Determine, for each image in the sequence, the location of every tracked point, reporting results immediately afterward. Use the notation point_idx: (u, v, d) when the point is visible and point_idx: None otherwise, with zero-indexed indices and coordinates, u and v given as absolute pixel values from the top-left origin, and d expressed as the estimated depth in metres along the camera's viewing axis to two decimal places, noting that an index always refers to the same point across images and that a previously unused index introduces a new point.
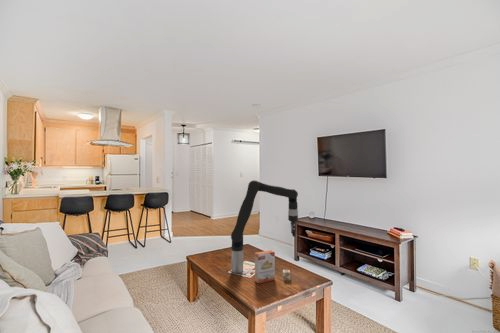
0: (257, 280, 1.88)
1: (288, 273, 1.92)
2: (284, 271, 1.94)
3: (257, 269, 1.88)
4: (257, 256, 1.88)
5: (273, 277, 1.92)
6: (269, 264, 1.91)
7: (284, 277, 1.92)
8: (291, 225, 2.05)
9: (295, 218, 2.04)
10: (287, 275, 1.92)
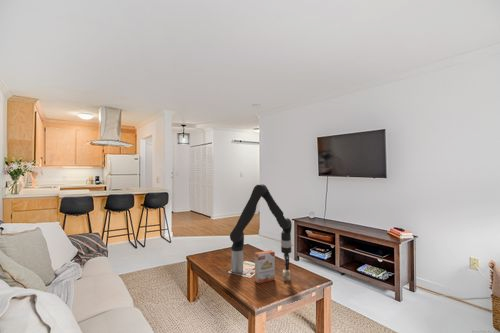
0: (257, 280, 1.88)
1: (288, 273, 1.92)
2: (284, 271, 1.94)
3: (257, 269, 1.88)
4: (257, 256, 1.88)
5: (273, 277, 1.92)
6: (269, 264, 1.91)
7: (284, 277, 1.92)
8: (284, 257, 1.92)
9: (288, 250, 1.91)
10: (287, 275, 1.92)
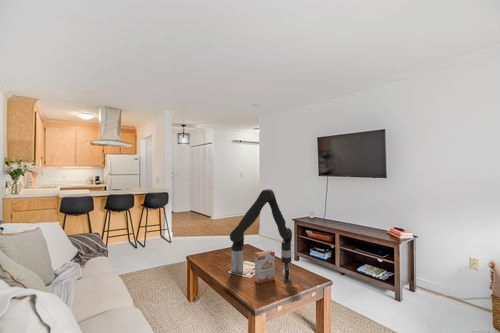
0: (257, 280, 1.88)
1: None
2: (284, 271, 1.94)
3: (257, 269, 1.88)
4: (257, 256, 1.88)
5: (273, 277, 1.92)
6: (269, 264, 1.91)
7: (284, 277, 1.92)
8: (284, 268, 1.92)
9: (288, 260, 1.91)
10: None
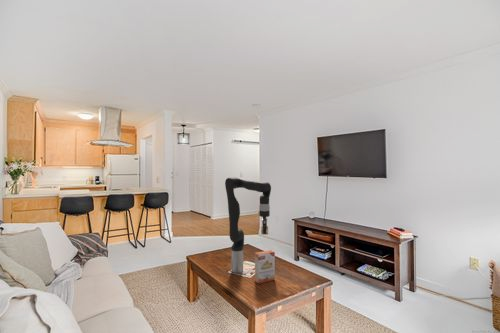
0: (257, 280, 1.88)
1: (266, 227, 1.90)
2: (262, 225, 1.92)
3: (257, 269, 1.88)
4: (257, 256, 1.88)
5: (273, 277, 1.92)
6: (269, 264, 1.91)
7: (262, 231, 1.90)
8: (262, 221, 1.90)
9: (266, 213, 1.89)
10: None
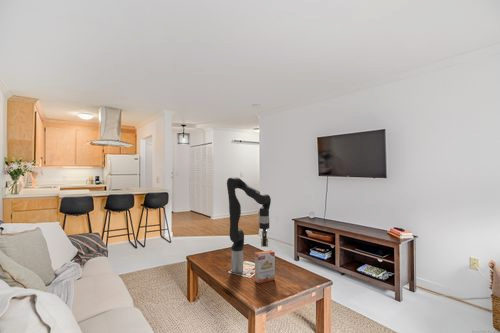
0: (257, 280, 1.88)
1: (266, 239, 1.90)
2: None
3: (257, 269, 1.88)
4: (257, 256, 1.88)
5: (273, 277, 1.92)
6: (269, 264, 1.91)
7: (262, 243, 1.90)
8: (262, 234, 1.90)
9: (266, 226, 1.89)
10: None
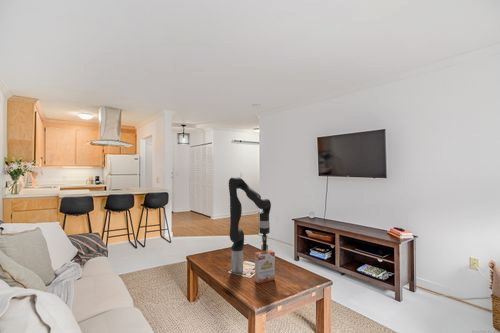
0: (257, 280, 1.88)
1: (266, 246, 1.89)
2: (262, 244, 1.91)
3: (257, 269, 1.88)
4: (257, 256, 1.88)
5: (273, 277, 1.92)
6: (269, 264, 1.91)
7: (262, 250, 1.90)
8: (262, 238, 1.90)
9: (266, 230, 1.89)
10: None
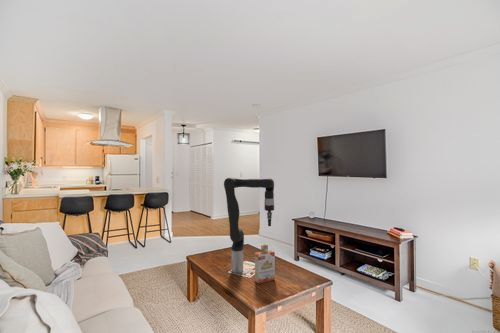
0: (257, 280, 1.88)
1: (266, 246, 1.89)
2: (262, 244, 1.91)
3: (257, 269, 1.88)
4: (257, 256, 1.88)
5: (273, 277, 1.92)
6: (269, 264, 1.91)
7: (262, 250, 1.90)
8: (267, 215, 2.02)
9: (271, 207, 2.01)
10: (265, 248, 1.89)
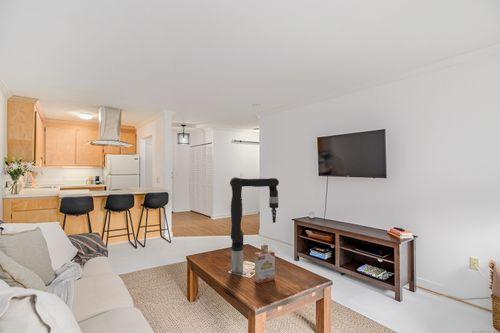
0: (257, 280, 1.88)
1: (266, 246, 1.89)
2: (262, 244, 1.91)
3: (257, 269, 1.88)
4: (257, 256, 1.88)
5: (273, 277, 1.92)
6: (269, 264, 1.91)
7: (262, 250, 1.90)
8: (272, 212, 2.14)
9: (275, 205, 2.13)
10: (265, 248, 1.89)
